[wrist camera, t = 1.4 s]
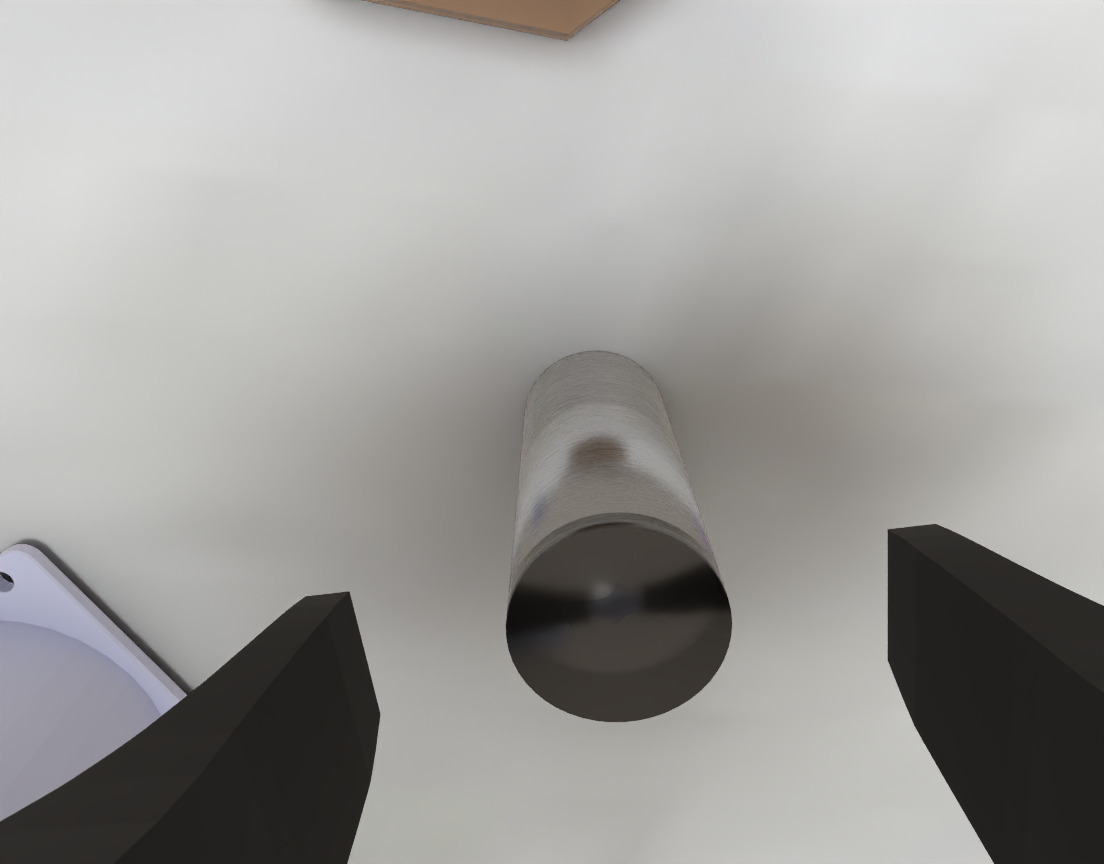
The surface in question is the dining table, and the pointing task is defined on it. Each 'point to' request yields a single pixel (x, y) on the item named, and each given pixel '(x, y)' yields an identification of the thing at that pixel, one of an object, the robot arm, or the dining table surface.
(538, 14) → the walnut bead
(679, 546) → the metal cylinder
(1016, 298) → the dining table surface
